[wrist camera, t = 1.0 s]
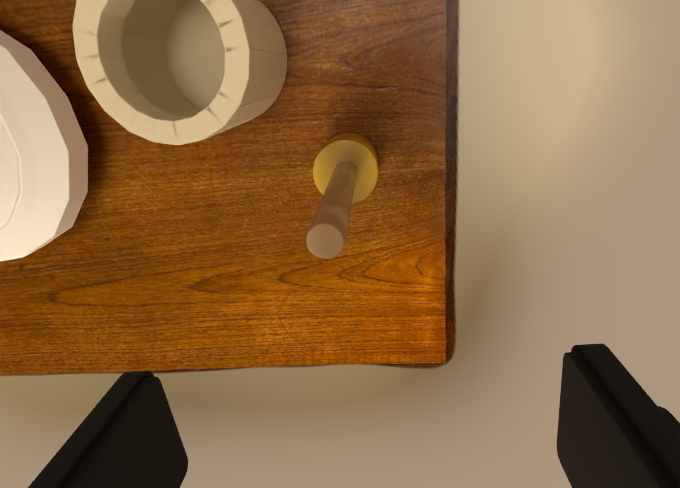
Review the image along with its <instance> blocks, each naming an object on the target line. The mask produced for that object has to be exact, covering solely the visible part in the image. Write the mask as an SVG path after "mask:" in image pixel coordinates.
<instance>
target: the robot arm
mask: <svg viewBox="0 0 680 488" xmlns="http://www.w3.org/2000/svg"><path fill="white" fill-rule="evenodd" d="M557 452H558V457H559V460H560V463H561V465H562V467H563V469H564V471H565V473H566V476H567V478H568V480H569V482H570V484H571V486H572V488H680V423H679V422H678V421H677V420H676V419H675V417H674V416H673V415H672V414H671V413H670V412H669V411H667V410H666V409H664V408H662V407H660V406H659V407H658V406H657V405H656V404H655V403H654V402H653V400H652V399H651V398H650V397H649V396H648V395H647V393H646V392H645V391H644V390H643V389H642V387H641V386H640V385H639V384H638V383H637V382H636V380H635V379H634V378H633V377H632V376H631V374H630V373H629V372H628V371H627V370H626V368H625V367H624V366H623V365H622V364H621V362H620V361H619V360H618V359H617V358H616V357H615V355H614V354H613V353H612V352H611V351H610V349H609V348H608V347H607V346H606V345H604V344H588V345H575V346H573V348H572V351H571V352H570V353H565V354H564V357H563V370H562V382H561V395H560V408H559V421H558V435H557ZM187 468H188V458H187V455H186V452H185V449H184V446H183V443H182V441H181V438H180V436H179V432H178V429H177V426H176V424H175V421H174V418H173V415H172V412H171V410H170V407H169V404H168V401H167V398H166V395H165V392H164V390H163V387H162V384H161V381H160V380H159V378H158V377H154V375H153V373H151V372H150V371H139V372H126V373H124V374H122V375H121V376H120V378H119V379H118V380H117V381H116V382H115V383H114V385H113V386H112V387H111V389H110V390H109V391H108V392H107V393H106V394H105V396H104V397H103V398H102V399H101V400H100V402H99V403H98V404H97V405H96V406H95V408H94V409H93V410H92V411H91V412H90V414H89V415H88V416H87V417H86V418H85V420H84V421H83V422H82V423H81V424H80V426H79V427H78V428H77V429H76V431H75V432H74V433H73V434H72V435H71V437H70V438H69V439H68V440H67V441H66V443H65V444H64V445H63V446H62V447H61V449H60V450H59V451H58V452H57V453H56V455H55V456H54V457H53V458H52V459H51V461H50V462H49V463H48V464H47V465H46V467H45V468H44V469H43V470H42V471H41V473H40V474H39V475H38V476H37V477H36V479H35V480H34V481H33V482H32V483H31V485H30V486H29V487H28V488H180V486H181V483H182V481H183V479H184V477H185V475H186V472H187Z"/></svg>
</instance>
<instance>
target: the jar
mask: <svg viewBox="0 0 680 488" xmlns="http://www.w3.org/2000/svg"><path fill="white" fill-rule="evenodd" d="M72 27H73V36H74V45H75V53H76V60H77V62H78V65H79V67H80V70H81V72H82V75H83V77H84V80H85V83H86V85H87V87H88V89H89V90H90V92H91V93H92V94H93V96H94V97H95V98H96V100H97V101H98V103H99V104H100V105H101V107H102V108H103V110H104V111H105V112H106V113H107V114H109V115H110V116H111V117H112V118H113V119H115V120H116V121H117V122H118V123H119V124H121V125H122V126H123V127H124V128H125V129H127V130H128V131H130V132H132V133H134V134H136V135H139V136H141V137H143V138H145V139H147V140H150V141H152V142H157V143H165V144H173V145H182V144H187V143H192V142H197V141H201V140H204V139H207V138H209V137H211V136H214V135H216V134H219V133H221V132H224V131H226V130H228V129H231V128H233V127H236V126H238V125H241V124H243V123H245V122H248V121H250V120H252V119H254V118H255V117H257V116H259V115H260V114H262V113H264V112H265V111H266V110H267V109H268V108H269V107H270V106H271V105H272V104H273V103H274V102H275V100H276V98H277V97H278V95H279V94H280V91H281V89H282V87H283V84H284V81H285V77H286V72H287V50H286V44H285V40H284V37H283V34H282V32H281V29H280V27H279V25H278V23H277V21H276V19H275V18H274V16H273V15H272V14H271V12H270V11H269V10H268V9H267V8H266V6H265V5H264V4H263V3H262V2H260V1H259V0H77V2H76V8H75V14H74V20H73V25H72Z"/></svg>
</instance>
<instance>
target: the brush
mask: <svg viewBox="0 0 680 488" xmlns="http://www.w3.org/2000/svg"><path fill="white" fill-rule="evenodd" d="M313 177H314V181H315V184H316V186H317V188H318V190H319V191H320V192H321V194H323V197H322V200H321V202H320V204H319V207H318V209H317V212H316V214H315V216H314V219H313V221H312V223H311V226H310V228H309V231H308V233H307V236H306V244H307V247H308V249H309V250H310V252H311V253H312V254H313V255H315V256H317V257H319V258H323V259H329V258H333V257H335V256H337V255H338V254H340V252H341V251H342V250H343V248H344V244H345V238H346V233H347V227H348V222H349V216H350V211H351V205H352V204H353V203H357V202H359V201H361V200H363V199H364V198H366V197H367V196H368V195H369V194H370V193H371V192H372V191H373V189H374V187H375V185H376V182H377V179H378V157H377V153H376V150H375V148H374V147H373V145H372V144H371V143H370V141H369V140H367V139H366V138H365V137H363V136H361V135H359V134H356V133H341V134H338V135H335V136H334V137H332V138H331V139H329V140H328V141H327V142H326V144H325V145H324V146H323V148H322V149H321V151H320V152H319V154H318V155H317V157H316V159H315V162H314V166H313Z"/></svg>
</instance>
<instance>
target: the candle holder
mask: <svg viewBox="0 0 680 488" xmlns="http://www.w3.org/2000/svg"><path fill="white" fill-rule="evenodd" d="M87 192H88V145H87V143H86V140H85V138H84V136H83V133H82V131H81V128H80V126H79V123H78V121H77V119H76V116H75V114H74V111H73V109H72V106H71V104H70V101H69V99H68V97H67V95H66V94H65V93H64V92H63V90H62V89H61V88H60V86H59V85H58V84H57V83H56V81H55V80H54V79H53V77H52V76H51V75H50V74H49V72H48V71H47V70H46V68H45V67H44V66H43V64H42V63H41V62H40V61H39V59H38V58H37V57H36V55H35V54H34V53H33V52H32V50H30V49H29V48H27V47H26V46H24V45H23V44H21V43H20V42H18V41H16V40H15V39H13V38H12V37H10V36H9V35H7V34H6V33H4V32H3V31H1V30H0V261H5V260H11V259H17V258H23V257H25V256H27V255H29V254H30V253H32V252H34V251H36V250H38V249H40V248H42V247H43V246H45V245H46V244H48V243H49V242H51V241H52V240H54V239H55V238H57V237H58V236H60V235H61V234H63V233H64V232H66V231H67V230H68V229H70V228H71V227H73V225H74V222H75V220H76V218H77V215H78V213H79V211H80V208H81V206H82V204H83V201H84V199H85V197H86V194H87Z"/></svg>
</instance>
